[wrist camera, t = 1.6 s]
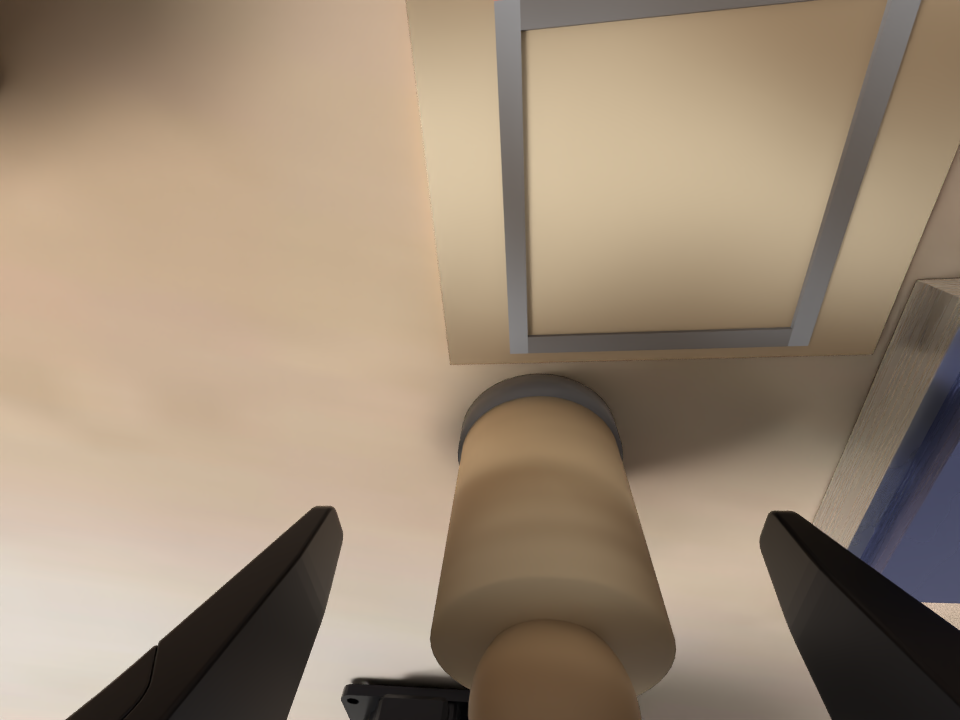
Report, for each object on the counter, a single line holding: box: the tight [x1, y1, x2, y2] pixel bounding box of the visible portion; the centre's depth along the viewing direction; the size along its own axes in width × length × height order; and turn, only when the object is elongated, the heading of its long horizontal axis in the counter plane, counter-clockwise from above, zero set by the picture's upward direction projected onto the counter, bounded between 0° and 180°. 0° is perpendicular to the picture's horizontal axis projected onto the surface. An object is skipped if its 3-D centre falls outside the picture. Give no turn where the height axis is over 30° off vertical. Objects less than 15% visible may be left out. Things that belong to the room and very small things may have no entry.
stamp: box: [430, 374, 676, 720], centre depth 8 cm, size 4×4×7 cm
